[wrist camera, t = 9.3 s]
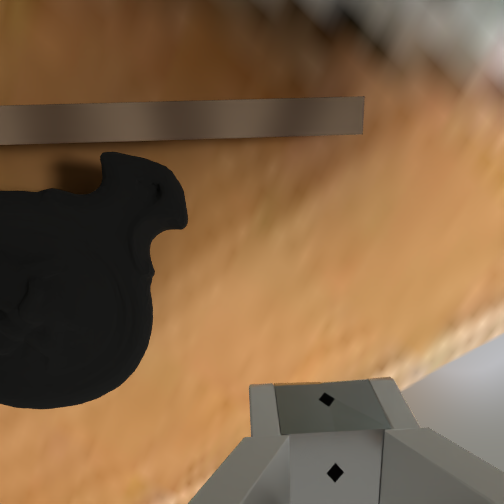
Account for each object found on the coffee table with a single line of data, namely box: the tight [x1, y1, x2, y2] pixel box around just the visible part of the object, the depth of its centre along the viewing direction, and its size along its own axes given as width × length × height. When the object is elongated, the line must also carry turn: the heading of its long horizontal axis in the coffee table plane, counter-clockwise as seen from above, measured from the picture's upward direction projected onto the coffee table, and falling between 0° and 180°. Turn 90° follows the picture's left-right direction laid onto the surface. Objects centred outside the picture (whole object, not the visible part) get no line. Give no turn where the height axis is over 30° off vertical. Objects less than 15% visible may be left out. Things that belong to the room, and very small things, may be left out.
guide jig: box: [0, 96, 365, 145], centre depth 28 cm, size 34×15×5 cm, turn 91°
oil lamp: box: [0, 152, 188, 409], centre depth 29 cm, size 15×20×5 cm
